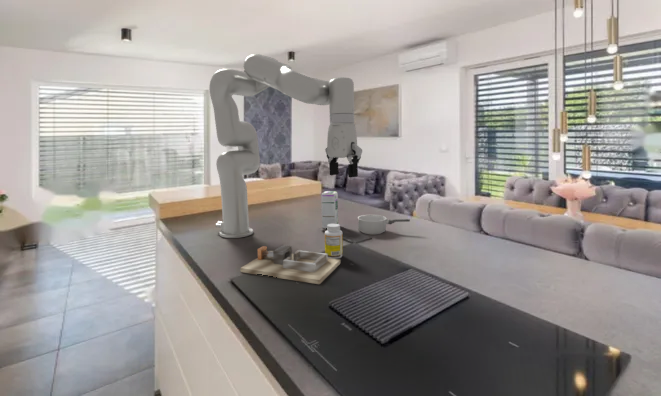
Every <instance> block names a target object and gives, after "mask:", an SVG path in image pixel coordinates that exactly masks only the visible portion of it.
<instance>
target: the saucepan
mask: <svg viewBox="0 0 661 396" xmlns="http://www.w3.org/2000/svg"><path fill="white" fill-rule="evenodd" d="M357 219H358V223H357V224H358V225H357V227H358V228H357V229H358V231H359V232H361V233H363V234H366V235H380V234H382V233H384V232H386V231H387V225H392V224H395V223H396V222H397V223H398V222H400V223H401V222H403V223H405V222H411V219H410V218H409V219H408V218H403V219H402V218H401V219H400V218H394V219H388V217H386V216H384V215H379V214H362V215H359V216H357Z"/></svg>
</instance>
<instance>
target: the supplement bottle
mask: <svg viewBox="0 0 661 396" xmlns="http://www.w3.org/2000/svg"><path fill="white" fill-rule="evenodd" d="M343 241H344V240H343V231H342V230H341V224H339V223H338V224H328V225H327V230H325V231H324V253H326V254H328V258H331V259H341V258H342V257H343V252H344V251H343V246H344V245H343Z"/></svg>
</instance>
